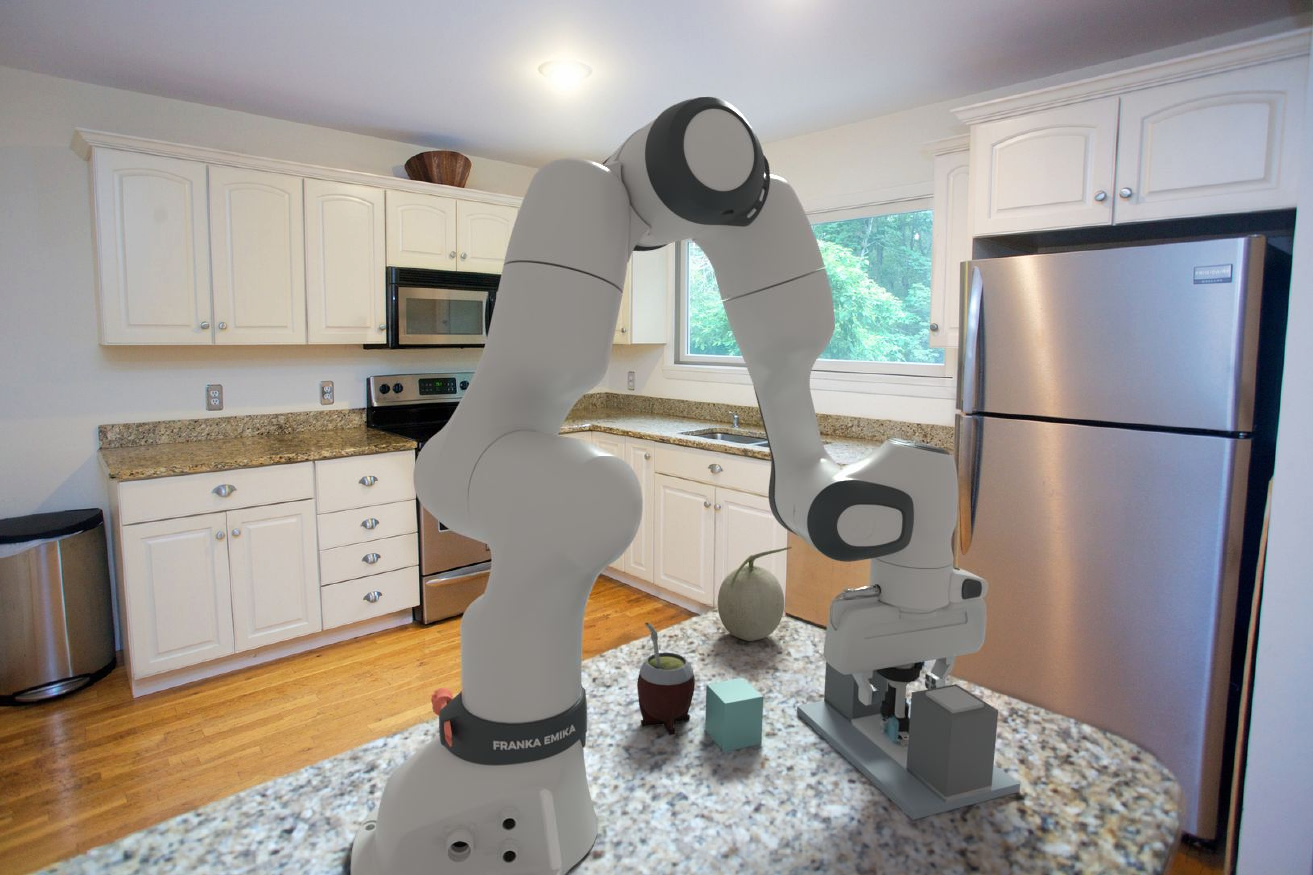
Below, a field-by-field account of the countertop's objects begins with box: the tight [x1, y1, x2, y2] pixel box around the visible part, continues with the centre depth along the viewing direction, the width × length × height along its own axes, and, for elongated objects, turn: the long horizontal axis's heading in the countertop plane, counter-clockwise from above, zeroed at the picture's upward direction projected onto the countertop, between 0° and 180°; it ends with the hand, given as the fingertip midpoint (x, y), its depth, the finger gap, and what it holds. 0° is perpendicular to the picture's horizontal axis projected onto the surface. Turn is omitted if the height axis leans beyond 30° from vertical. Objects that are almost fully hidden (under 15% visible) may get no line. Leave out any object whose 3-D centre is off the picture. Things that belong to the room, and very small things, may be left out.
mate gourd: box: [636, 622, 696, 736], centre depth 89 cm, size 8×8×15 cm
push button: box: [876, 662, 924, 748], centre depth 85 cm, size 7×5×10 cm
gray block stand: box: [796, 660, 1021, 821], centre depth 85 cm, size 14×22×10 cm, turn 20°
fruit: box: [717, 546, 792, 642], centre depth 115 cm, size 10×12×15 cm
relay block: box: [704, 677, 764, 752], centre depth 87 cm, size 5×5×6 cm
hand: (901, 695), depth 85 cm, fingers open, 8 cm apart
